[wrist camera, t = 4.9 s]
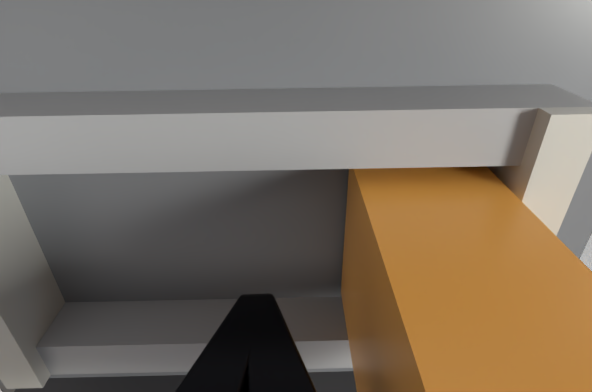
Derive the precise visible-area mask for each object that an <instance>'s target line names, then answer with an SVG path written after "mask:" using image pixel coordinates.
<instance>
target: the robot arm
mask: <svg viewBox="0 0 592 392" xmlns="http://www.w3.org/2000/svg"><path fill="white" fill-rule="evenodd" d="M175 392H317V391H316V389H315V387H314V384H313V382H312V380H311V378H310V376H309V373H308V371H307V369H306V367H305V364H304V362H303V360H302V358H301V355H300V353H299V351H298V349H297V346H296V344H295V342H294V340H293V337H292V335H291V333H290V331H289V328H288V326H287V324H286V322H285V319H284V317H283V315H282V313H281V310H280V308H279V306H278V304H277V301H276V299H275V297H274V295H273V294H271V293H262V294H242V295H241V296H240V297H239V298H238V299H237V301H236V302H235V304H234V305H233V307H232V308H231V310H230V311H229V313H228V314H227V316H226V317H225V318H224V320H223V321H222V323H221V324H220V326H219V327H218V329H217V330H216V332H215V333H214V335H213V336H212V338H211V339H210V341H209V342H208V344H207V345H206V346H205V348H204V349H203V351H202V352H201V354H200V355H199V357H198V358H197V360H196V361H195V363H194V364H193V366H192V367H191V369H190V370H189V372H188V373H187V374H186V376H185V377H184V379H183V380H182V382H181V383H180V385H179V386H178V388H177V389H176V391H175Z"/></svg>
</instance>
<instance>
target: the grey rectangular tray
mask: <svg viewBox="0 0 592 392" xmlns="http://www.w3.org/2000/svg"><path fill="white" fill-rule="evenodd" d="M478 166H487V167H488V168H489V169H490V170H491V171H492V172H493V173H494V174H495V175H496V176H497V177H498V178H499V179H500V180H501V181H502V182H503V183H504V184H505V185H506V186H507V187H508V188H509V189H510V190H511V191H512V192H513V193H514V194H515V195H516V196H517V197H518V198H519V199H520V200H521V201H522V202H523V203H524V204H525V205H526V206H527V207H528V208H529V209H530V210H531V211H532V212H533V213H534V214H535V215H536V216H537V217H538V218H539V219H540V220H541V221H542V222H543V223H544V224H545V225H546V226H547V227H548V228H549V229H550V230H551V231H552V232H553V233H554V234H555V235H556V236H557V237H558V238H559V239H560V240H561V241H562V242H563V243H564V244H565V245H566V246H567V247H568V248H569V249H570V250H571V251H572V252H573V253H574V254H575V255H576V256H577V257H578V258H579V259H580V257H581V254H582V252H583V250H584V248H585V246H586V244H587V242H588V240H589V238H590V236H591V233H592V0H0V389H1V391H2V392H14V391H15V389H20V388H43V387H44V386H45V384H46V382H47V380H48V379H49V378H78V377H122V376H166V375H186V374H187V373H188V372H189V370H190V369H191V367H192V366H193V364H194V363H195V361H196V360H197V358H198V357H199V355H200V354H201V352H202V351H203V349H204V348H205V346H206V345H207V344H208V342H209V341H210V339H211V338H212V336H213V335H214V333H215V332H216V330H217V329H218V327H219V326H220V324H221V323H222V321H223V320H224V318H225V317H226V316H227V314H228V313H229V311H230V310H231V308H232V307H233V305H234V304H235V302H236V301H237V299H238V298H239V297H240V296H241V295H242V294H262V293H271V294H273V295H274V297H275V299H276V301H277V304H278V306H279V308H280V310H281V313H282V315H283V317H284V319H285V322H286V324H287V326H288V328H289V331H290V333H291V335H292V337H293V340H294V342H295V344H296V346H297V349H298V351H299V353H300V355H301V358H302V360H303V362H304V364H305V367H306V369H307V371H308V372H341V371H353V365H352V359H351V352H350V346H349V340H348V334H347V328H346V321H345V315H344V309H343V303H342V297H341V280H342V265H343V250H344V235H345V220H346V205H347V190H348V175H349V169H368V168H423V167H478Z"/></svg>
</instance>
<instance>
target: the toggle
mask: <svg viewBox="0 0 592 392" xmlns="http://www.w3.org/2000/svg"><path fill="white" fill-rule="evenodd" d="M341 297H342V303H343V309H344V315H345V321H346V328H347V334H348V340H349V346H350V352H351V359H352V365H353V371H354V377H355V383H356V390H357V392H592V271H591V270H590V269H589V268H588V267H587V266H586V265H585V264H584V263H583V262H582V261H581V260H580V259H579V258H578V257H577V256H576V255H575V254H574V253H573V252H572V251H571V250H570V249H569V248H568V247H567V246H566V245H565V244H564V243H563V242H562V241H561V240H560V239H559V238H558V237H557V236H556V235H555V234H554V233H553V232H552V231H551V230H550V229H549V228H548V227H547V226H546V225H545V224H544V223H543V222H542V221H541V220H540V219H539V218H538V217H537V216H536V215H535V214H534V213H533V212H532V211H531V210H530V209H529V208H528V207H527V206H526V205H525V204H524V203H523V202H522V201H521V200H520V199H519V198H518V197H517V196H516V195H515V194H514V193H513V192H512V191H511V190H510V189H509V188H508V187H507V186H506V185H505V184H504V183H503V182H502V181H501V180H500V179H499V178H498V177H497V176H496V175H495V174H494V173H493V172H492V171H491V170H490V169H489V168H488V167H487V166H478V167H423V168H368V169H349V175H348V190H347V205H346V220H345V235H344V250H343V265H342V280H341Z"/></svg>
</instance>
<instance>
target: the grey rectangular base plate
mask: <svg viewBox="0 0 592 392" xmlns="http://www.w3.org/2000/svg"><path fill="white" fill-rule="evenodd" d="M308 373H309V376H310V378H311V380H312V382H313V384H314V387H315V389H316V391H317V392H357V390H356V383H355V377H354V371H341V372H308ZM185 376H186V375H166V376H122V377H78V378H49V379H48V380H47V382H46V384H45V386H44V387H43V388H20V389H15V391H14V392H175V391H176V389H177V388H178V386H179V385H180V383H181V382H182V380H183V379H184V377H185Z"/></svg>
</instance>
